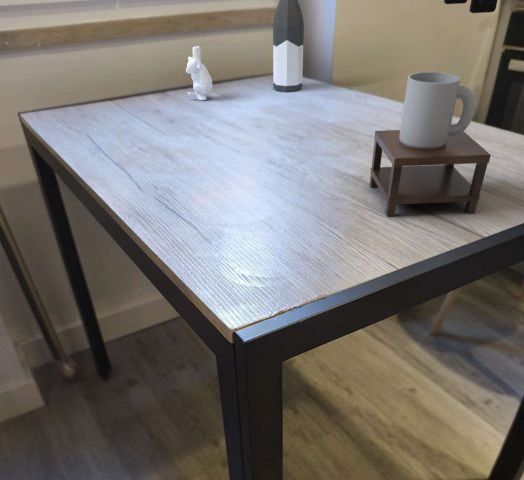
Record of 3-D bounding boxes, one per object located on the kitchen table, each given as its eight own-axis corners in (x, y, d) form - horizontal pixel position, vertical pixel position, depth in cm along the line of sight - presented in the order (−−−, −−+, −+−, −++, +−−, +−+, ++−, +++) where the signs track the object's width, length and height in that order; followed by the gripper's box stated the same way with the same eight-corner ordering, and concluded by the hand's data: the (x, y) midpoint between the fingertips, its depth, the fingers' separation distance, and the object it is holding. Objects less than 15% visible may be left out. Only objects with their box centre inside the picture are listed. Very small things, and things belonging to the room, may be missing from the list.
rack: (448, 181, 89) (459, 127, 83) (475, 213, 79) (491, 154, 73) (368, 184, 89) (375, 130, 83) (386, 217, 79) (394, 158, 73)
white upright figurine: (188, 95, 139) (183, 44, 131) (213, 94, 139) (209, 43, 132) (188, 103, 132) (182, 50, 125) (213, 102, 133) (210, 49, 125)
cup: (400, 133, 81) (409, 71, 76) (465, 137, 79) (480, 73, 74) (396, 148, 76) (406, 82, 70) (467, 152, 74) (482, 85, 68)
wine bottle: (302, 85, 145) (306, -48, 126) (301, 92, 139) (304, -47, 120) (274, 85, 146) (274, -48, 127) (271, 92, 140) (270, -46, 121)
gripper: (573, -187, 51) (524, 14, 62) (501, -164, 65) (471, -1, 76) (500, -184, 51) (463, 18, 62) (443, -161, 64) (421, 1, 75)
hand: (467, 7), depth 69 cm, fingers open, 9 cm apart
